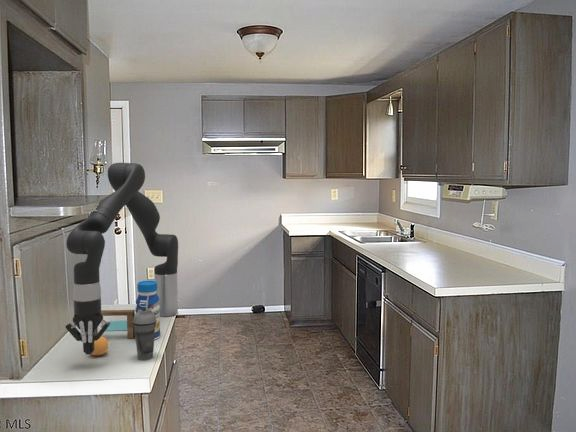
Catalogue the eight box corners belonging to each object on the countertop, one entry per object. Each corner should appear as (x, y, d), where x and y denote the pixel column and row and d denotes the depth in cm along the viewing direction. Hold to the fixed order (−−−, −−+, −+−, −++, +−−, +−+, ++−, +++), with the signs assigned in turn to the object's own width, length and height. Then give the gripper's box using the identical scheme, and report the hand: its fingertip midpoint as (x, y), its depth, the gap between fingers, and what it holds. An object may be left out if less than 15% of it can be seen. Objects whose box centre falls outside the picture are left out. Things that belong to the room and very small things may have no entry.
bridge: (92, 337, 171) (91, 310, 170) (135, 336, 172) (134, 309, 171) (89, 340, 168) (88, 312, 167) (133, 339, 169) (132, 312, 169)
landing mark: (111, 321, 190) (111, 320, 190) (142, 320, 191) (142, 320, 191) (101, 331, 178) (101, 330, 178) (135, 330, 179) (135, 329, 179)
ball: (92, 351, 157) (91, 333, 157) (111, 351, 158) (110, 333, 157) (86, 358, 151) (85, 340, 151) (105, 358, 152) (105, 339, 151)
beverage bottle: (149, 332, 177) (148, 278, 175) (165, 336, 172) (164, 281, 170) (130, 338, 170) (129, 283, 168) (147, 343, 165) (146, 286, 163)
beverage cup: (136, 353, 156) (135, 292, 154) (159, 353, 156) (158, 292, 154) (130, 362, 149) (129, 298, 147) (154, 361, 149) (153, 298, 147)
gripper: (113, 293, 148) (114, 348, 149) (69, 294, 147) (70, 350, 148) (106, 300, 140) (107, 357, 142) (59, 300, 139) (61, 359, 141)
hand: (88, 353), depth 145 cm, fingers closed
